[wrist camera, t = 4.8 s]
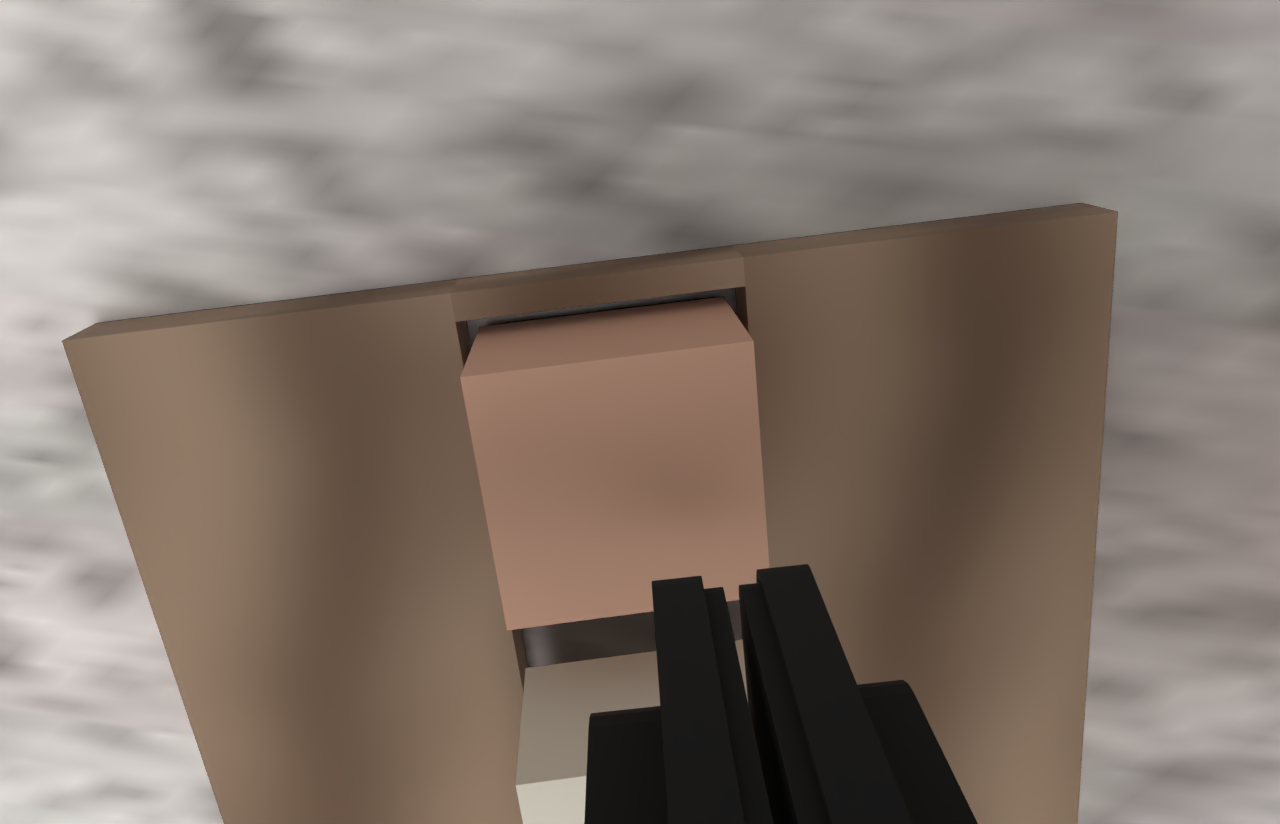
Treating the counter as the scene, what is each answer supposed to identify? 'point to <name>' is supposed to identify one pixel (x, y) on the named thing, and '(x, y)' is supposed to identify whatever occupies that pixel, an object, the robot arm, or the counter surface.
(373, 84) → the counter surface
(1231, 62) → the counter surface
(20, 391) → the counter surface
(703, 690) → the robot arm
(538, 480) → the pink square block
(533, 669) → the cream cube
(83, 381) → the walnut board
